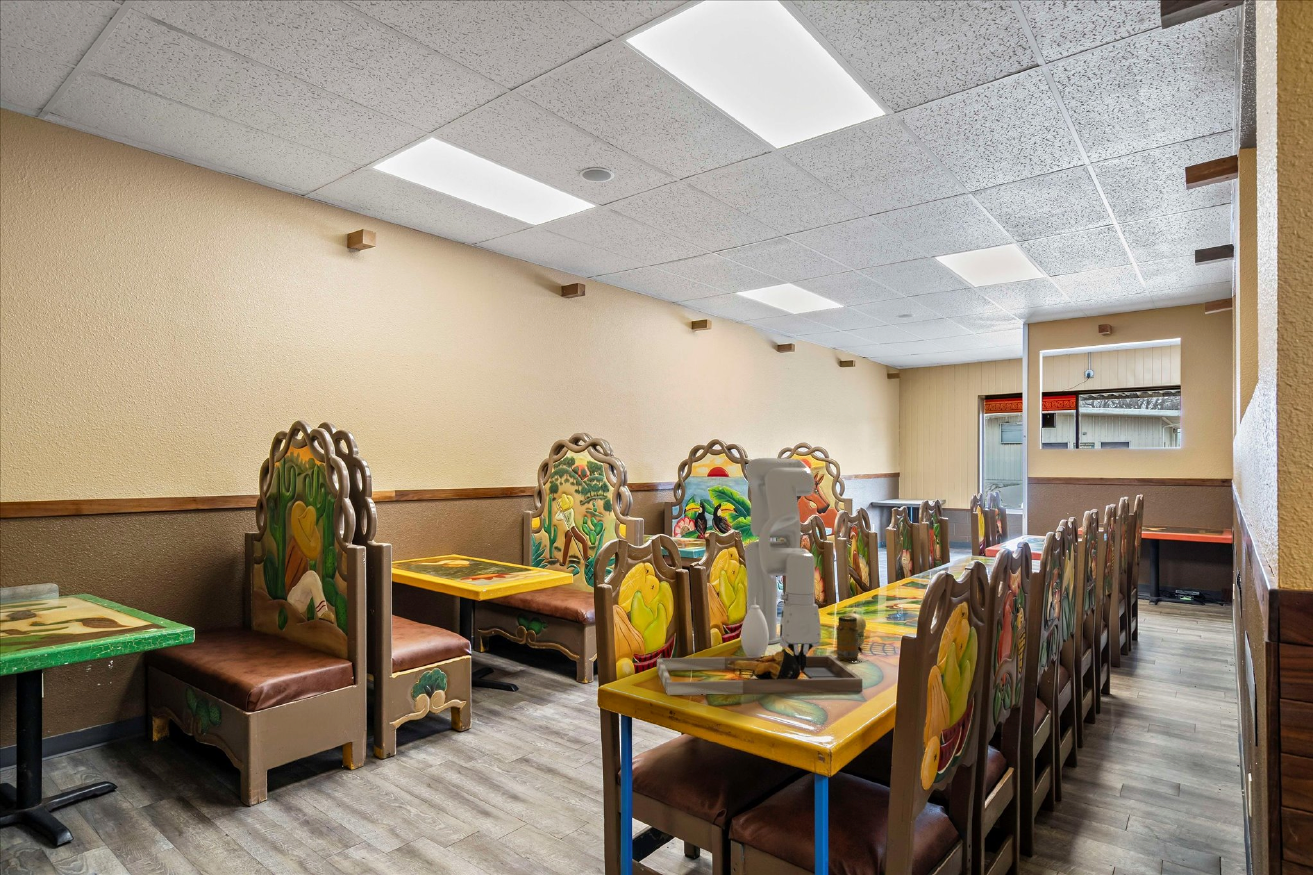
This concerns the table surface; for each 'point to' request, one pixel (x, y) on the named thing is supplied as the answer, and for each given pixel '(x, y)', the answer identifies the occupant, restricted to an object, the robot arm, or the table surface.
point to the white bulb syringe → (754, 632)
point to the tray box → (817, 668)
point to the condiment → (848, 640)
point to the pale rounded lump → (859, 626)
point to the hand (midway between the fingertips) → (799, 668)
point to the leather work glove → (771, 666)
